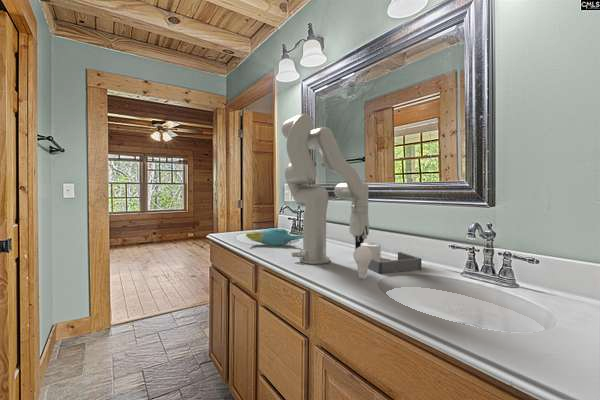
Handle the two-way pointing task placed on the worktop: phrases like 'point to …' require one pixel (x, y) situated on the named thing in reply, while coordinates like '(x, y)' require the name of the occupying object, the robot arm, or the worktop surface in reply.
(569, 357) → the worktop surface
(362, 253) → the lightbulb
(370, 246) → the toilet paper
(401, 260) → the box
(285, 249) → the worktop surface
